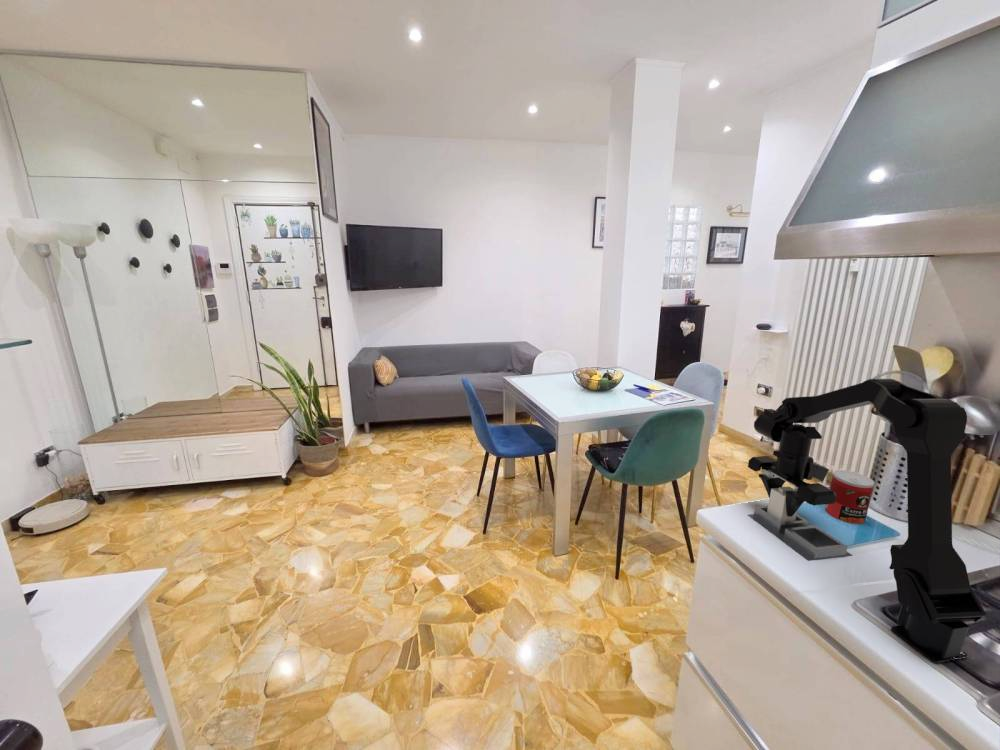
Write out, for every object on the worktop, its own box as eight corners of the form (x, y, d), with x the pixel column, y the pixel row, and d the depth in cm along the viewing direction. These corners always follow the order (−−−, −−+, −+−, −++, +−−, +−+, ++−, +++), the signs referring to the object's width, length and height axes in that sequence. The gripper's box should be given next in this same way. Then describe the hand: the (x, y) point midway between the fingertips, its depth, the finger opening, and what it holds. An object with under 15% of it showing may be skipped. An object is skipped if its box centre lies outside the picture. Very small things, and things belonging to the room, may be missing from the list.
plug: (794, 526, 96) (801, 492, 94) (779, 528, 95) (786, 493, 93) (780, 516, 100) (786, 483, 98) (765, 518, 99) (771, 484, 97)
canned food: (840, 526, 98) (850, 485, 95) (816, 508, 105) (825, 469, 103) (873, 527, 97) (884, 485, 95) (846, 509, 105) (856, 470, 103)
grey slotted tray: (852, 558, 86) (855, 546, 86) (807, 564, 85) (810, 551, 84) (785, 514, 103) (787, 503, 102) (746, 517, 101) (748, 506, 100)
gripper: (864, 466, 86) (849, 531, 89) (789, 433, 104) (779, 489, 107) (819, 469, 84) (805, 536, 88) (751, 435, 102) (741, 492, 105)
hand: (781, 511), depth 97 cm, fingers closed on plug, 4 cm apart
